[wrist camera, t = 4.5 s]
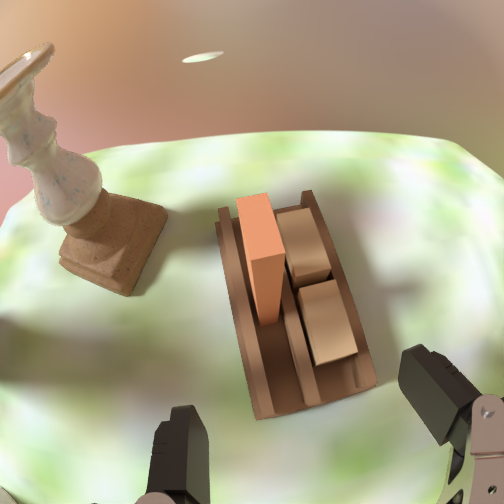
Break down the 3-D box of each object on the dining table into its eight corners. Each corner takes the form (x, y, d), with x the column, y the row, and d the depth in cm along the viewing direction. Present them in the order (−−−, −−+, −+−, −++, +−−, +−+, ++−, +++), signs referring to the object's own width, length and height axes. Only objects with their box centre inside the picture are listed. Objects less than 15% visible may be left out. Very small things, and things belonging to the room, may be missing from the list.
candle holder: (103, 199, 36) (15, 54, 14) (169, 214, 33) (86, 25, 12) (64, 269, 31) (-67, 143, 10) (129, 298, 29) (-38, 137, 8)
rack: (370, 386, 24) (388, 384, 20) (256, 418, 23) (254, 424, 19) (313, 209, 33) (318, 184, 29) (217, 229, 32) (210, 206, 28)
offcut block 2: (343, 358, 24) (358, 351, 20) (311, 367, 24) (320, 363, 20) (325, 296, 26) (335, 279, 22) (294, 304, 26) (299, 288, 22)
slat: (277, 322, 26) (285, 252, 13) (260, 326, 26) (250, 260, 13) (268, 286, 27) (266, 192, 15) (251, 290, 27) (236, 198, 15)
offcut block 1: (322, 287, 27) (331, 267, 23) (291, 294, 27) (295, 276, 23) (304, 233, 30) (309, 207, 26) (276, 239, 29) (276, 214, 25)
